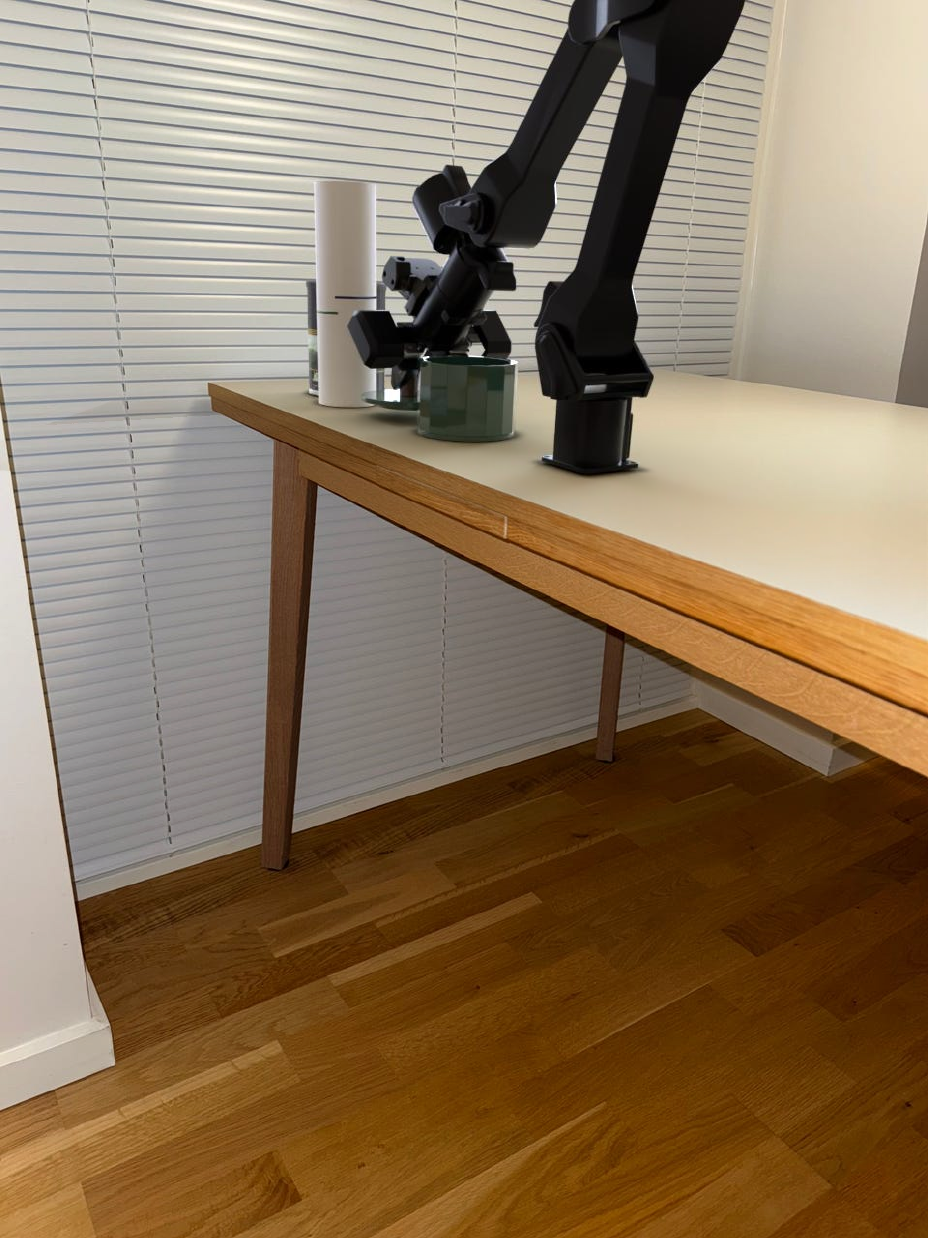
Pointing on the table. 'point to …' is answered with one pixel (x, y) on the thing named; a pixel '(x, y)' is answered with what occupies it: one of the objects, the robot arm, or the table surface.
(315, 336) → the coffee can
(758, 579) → the table surface
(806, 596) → the table surface
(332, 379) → the cylindrical container
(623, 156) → the robot arm
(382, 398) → the lid
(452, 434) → the pot
